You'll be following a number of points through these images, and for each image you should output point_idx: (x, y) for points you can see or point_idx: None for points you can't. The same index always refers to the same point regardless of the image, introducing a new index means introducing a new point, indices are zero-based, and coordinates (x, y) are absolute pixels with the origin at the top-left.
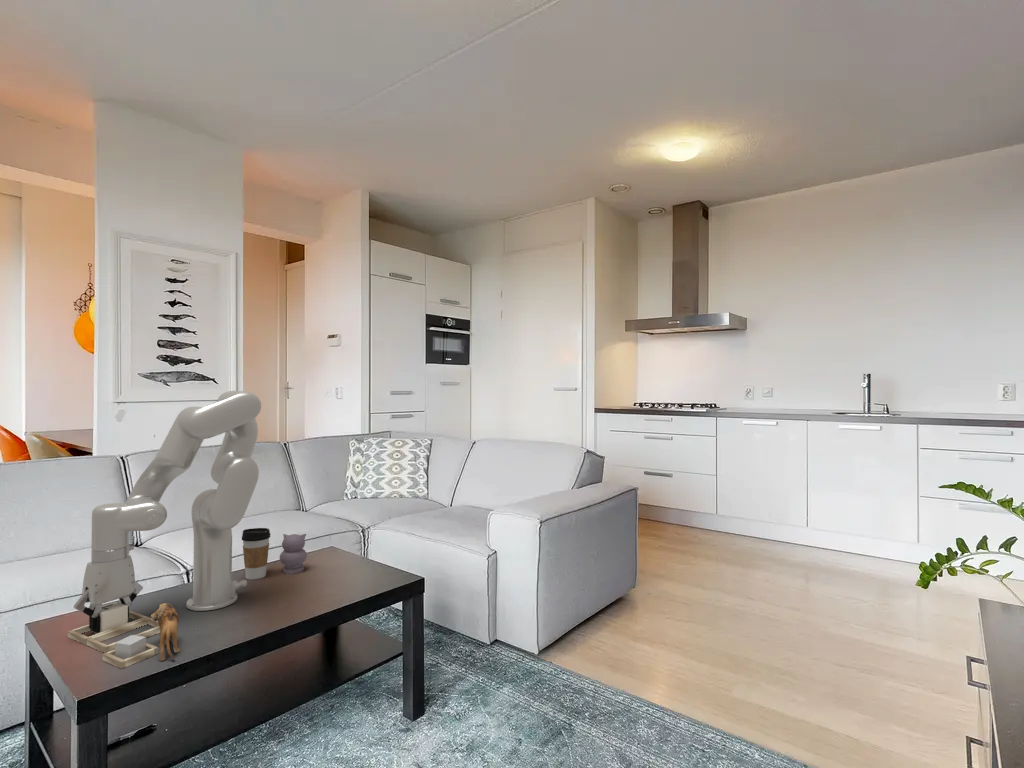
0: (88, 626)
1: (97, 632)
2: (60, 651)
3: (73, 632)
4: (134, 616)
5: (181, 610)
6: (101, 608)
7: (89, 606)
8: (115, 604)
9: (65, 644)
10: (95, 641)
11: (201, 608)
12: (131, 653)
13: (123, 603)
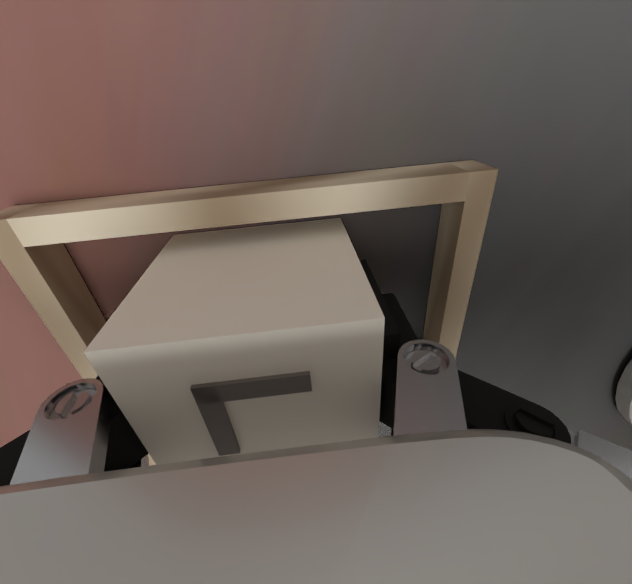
0: (143, 231)
1: None
2: (4, 378)
3: (29, 280)
4: (443, 272)
5: (621, 327)
6: (191, 401)
7: (16, 482)
8: (333, 394)
9: (17, 313)
10: (151, 462)
11: (625, 415)
12: None
13: (393, 411)
